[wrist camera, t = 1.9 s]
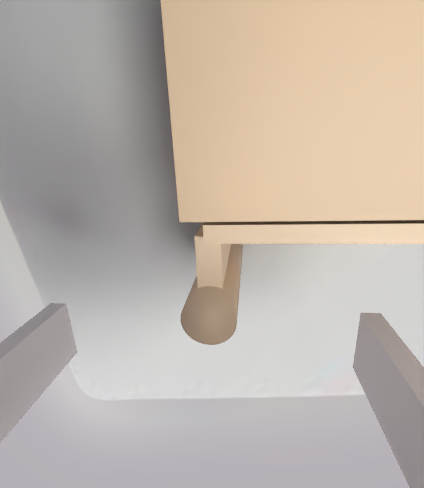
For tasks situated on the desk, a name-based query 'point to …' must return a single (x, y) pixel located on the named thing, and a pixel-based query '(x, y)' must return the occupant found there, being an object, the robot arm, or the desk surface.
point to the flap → (268, 232)
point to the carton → (296, 109)
